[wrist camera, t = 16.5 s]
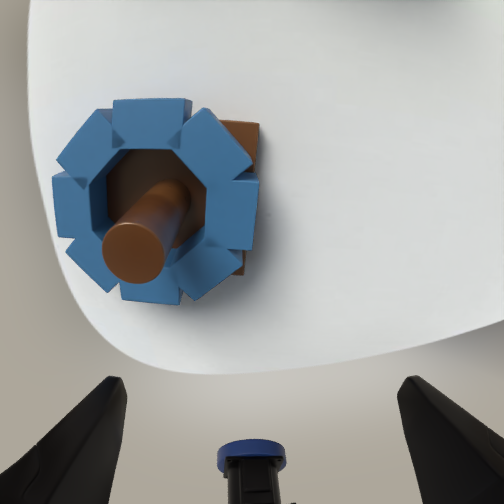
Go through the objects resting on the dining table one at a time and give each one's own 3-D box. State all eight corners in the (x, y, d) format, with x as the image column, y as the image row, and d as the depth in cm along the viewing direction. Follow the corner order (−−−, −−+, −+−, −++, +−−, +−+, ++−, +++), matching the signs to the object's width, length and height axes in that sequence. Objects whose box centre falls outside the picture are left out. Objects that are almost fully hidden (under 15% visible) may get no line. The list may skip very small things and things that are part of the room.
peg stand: (243, 266, 20) (248, 358, 12) (109, 257, 19) (55, 335, 11) (257, 122, 16) (278, 128, 8) (104, 119, 15) (20, 131, 8)
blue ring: (244, 287, 19) (245, 310, 17) (83, 274, 18) (68, 293, 16) (263, 105, 14) (268, 103, 12) (72, 106, 13) (50, 106, 11)
